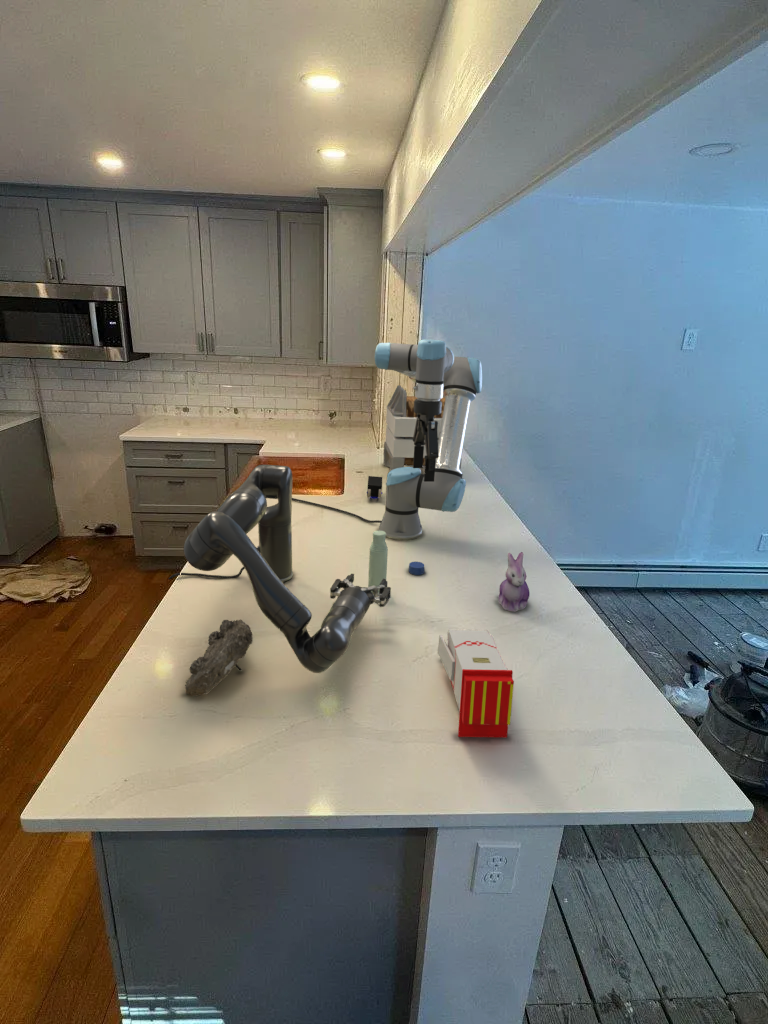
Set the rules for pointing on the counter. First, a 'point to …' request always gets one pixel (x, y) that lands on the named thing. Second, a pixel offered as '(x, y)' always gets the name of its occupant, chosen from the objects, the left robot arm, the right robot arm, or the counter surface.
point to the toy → (478, 682)
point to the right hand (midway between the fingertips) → (423, 474)
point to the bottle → (378, 559)
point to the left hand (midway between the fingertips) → (368, 579)
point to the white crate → (403, 430)
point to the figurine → (514, 585)
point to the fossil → (219, 656)
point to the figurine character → (374, 487)
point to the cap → (416, 568)
